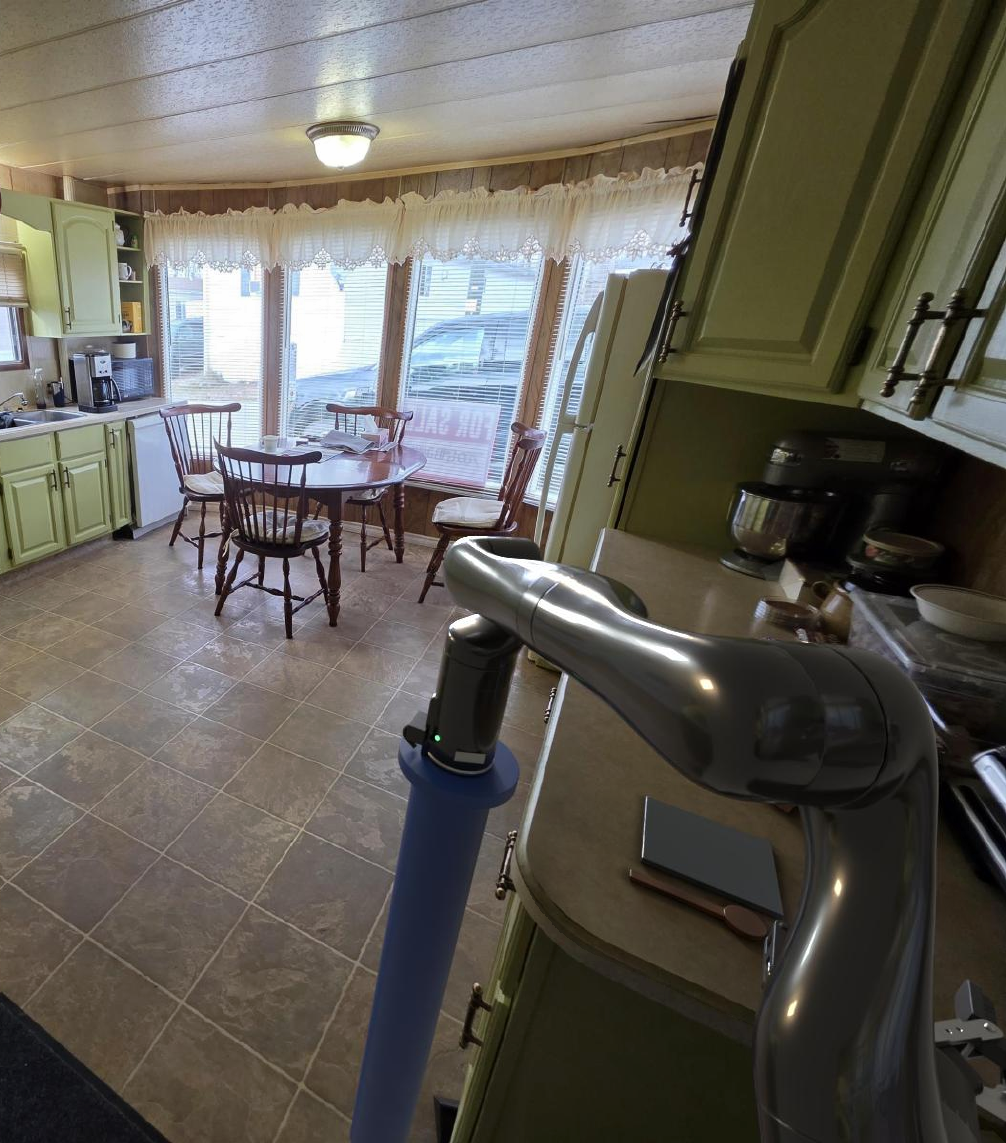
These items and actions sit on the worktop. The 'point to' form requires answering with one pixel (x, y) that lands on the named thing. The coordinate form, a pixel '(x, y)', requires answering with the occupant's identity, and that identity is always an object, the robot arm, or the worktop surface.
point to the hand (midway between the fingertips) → (889, 950)
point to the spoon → (709, 908)
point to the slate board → (711, 856)
